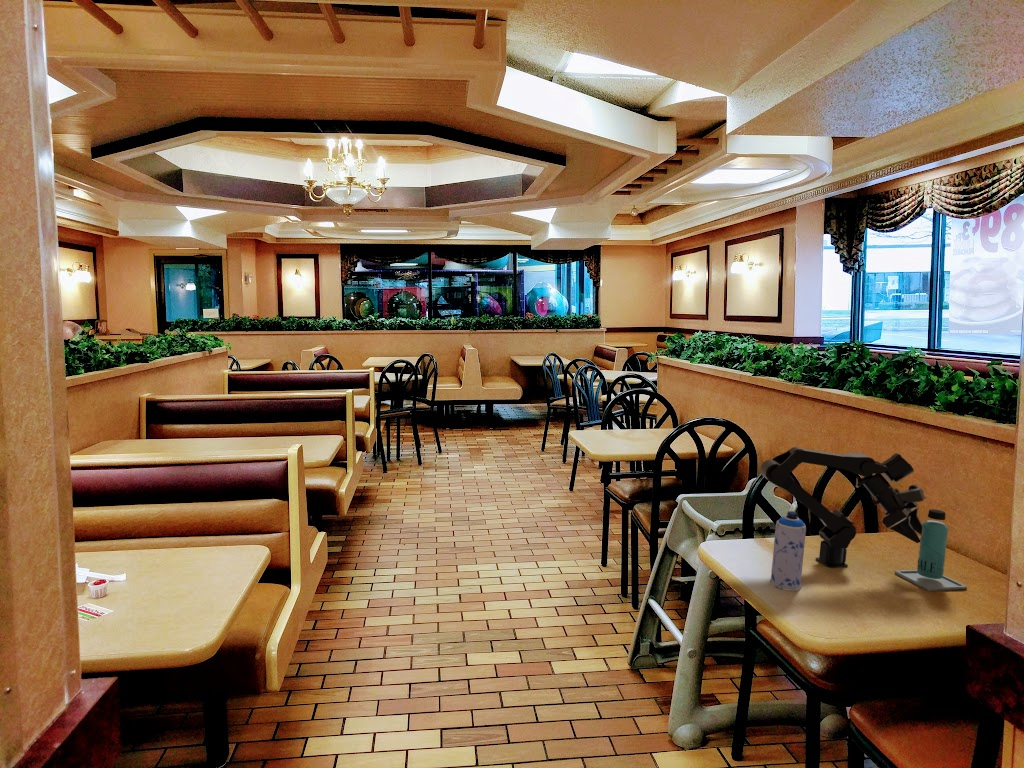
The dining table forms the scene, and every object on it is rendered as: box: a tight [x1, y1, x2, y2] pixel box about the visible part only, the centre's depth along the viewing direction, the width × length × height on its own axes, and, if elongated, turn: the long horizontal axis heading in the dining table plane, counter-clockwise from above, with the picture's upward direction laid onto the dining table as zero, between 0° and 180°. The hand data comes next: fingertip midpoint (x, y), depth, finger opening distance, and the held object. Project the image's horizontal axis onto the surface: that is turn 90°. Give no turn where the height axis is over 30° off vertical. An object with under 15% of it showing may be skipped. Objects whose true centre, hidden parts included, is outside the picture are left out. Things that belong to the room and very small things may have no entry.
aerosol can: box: [769, 510, 807, 592], centre depth 182 cm, size 8×8×20 cm
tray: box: [894, 569, 968, 592], centre depth 191 cm, size 12×12×1 cm
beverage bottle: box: [916, 508, 950, 579], centre depth 190 cm, size 6×7×20 cm
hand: (922, 538), depth 191 cm, fingers open, 9 cm apart
